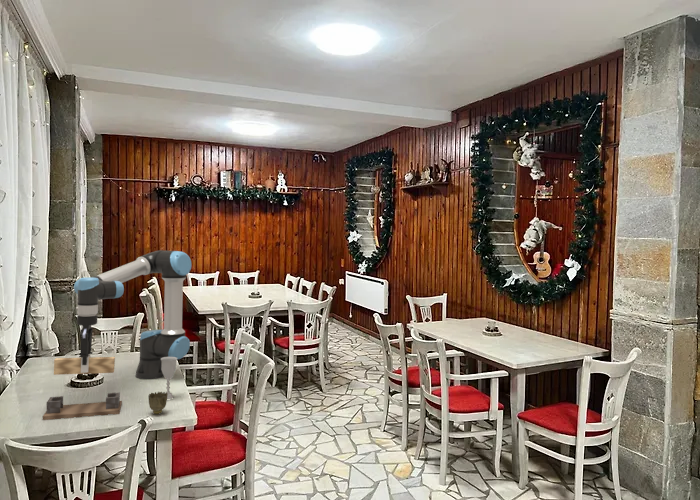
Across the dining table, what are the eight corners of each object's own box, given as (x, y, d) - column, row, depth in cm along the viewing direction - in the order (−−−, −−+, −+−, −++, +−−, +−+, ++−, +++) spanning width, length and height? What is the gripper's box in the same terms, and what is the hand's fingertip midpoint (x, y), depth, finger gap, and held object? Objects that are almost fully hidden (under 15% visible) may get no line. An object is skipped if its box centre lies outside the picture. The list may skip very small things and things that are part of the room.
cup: (151, 410, 207) (151, 391, 207) (169, 410, 208) (169, 391, 208) (145, 416, 200) (145, 396, 200) (164, 416, 200) (164, 397, 200)
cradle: (121, 404, 213) (122, 390, 213) (119, 414, 202) (119, 399, 201) (49, 409, 204) (49, 395, 203) (42, 420, 192) (42, 404, 192)
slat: (114, 370, 211) (114, 356, 211) (113, 372, 209) (113, 358, 209) (55, 372, 204) (56, 358, 204) (53, 374, 202) (54, 360, 201)
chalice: (179, 397, 224) (180, 357, 224) (169, 402, 218) (170, 361, 217) (166, 395, 226) (167, 356, 226) (155, 399, 220) (156, 359, 220)
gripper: (80, 312, 213) (78, 366, 213) (73, 318, 197) (71, 376, 198) (100, 312, 215) (98, 366, 215) (94, 317, 200) (92, 376, 200)
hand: (85, 371), depth 207 cm, fingers closed on slat, 3 cm apart
